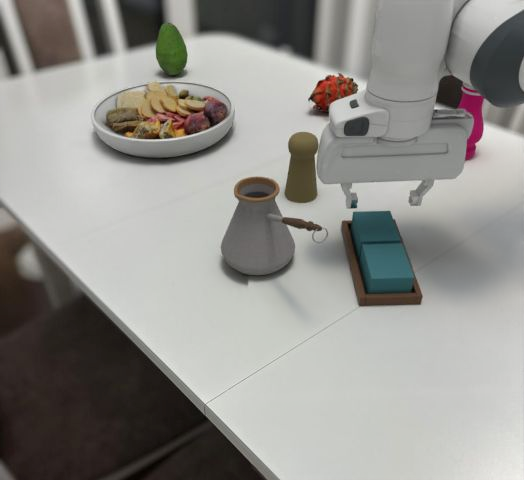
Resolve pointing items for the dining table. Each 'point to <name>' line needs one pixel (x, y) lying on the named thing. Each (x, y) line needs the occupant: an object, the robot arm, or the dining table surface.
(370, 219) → the loose pad
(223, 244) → the coffee pot
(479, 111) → the pepper mill
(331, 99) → the dragon fruit
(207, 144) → the bowl
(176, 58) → the avocado
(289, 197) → the olive peg doll
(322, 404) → the dining table surface
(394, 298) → the brown wooden tray
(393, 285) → the teal block
